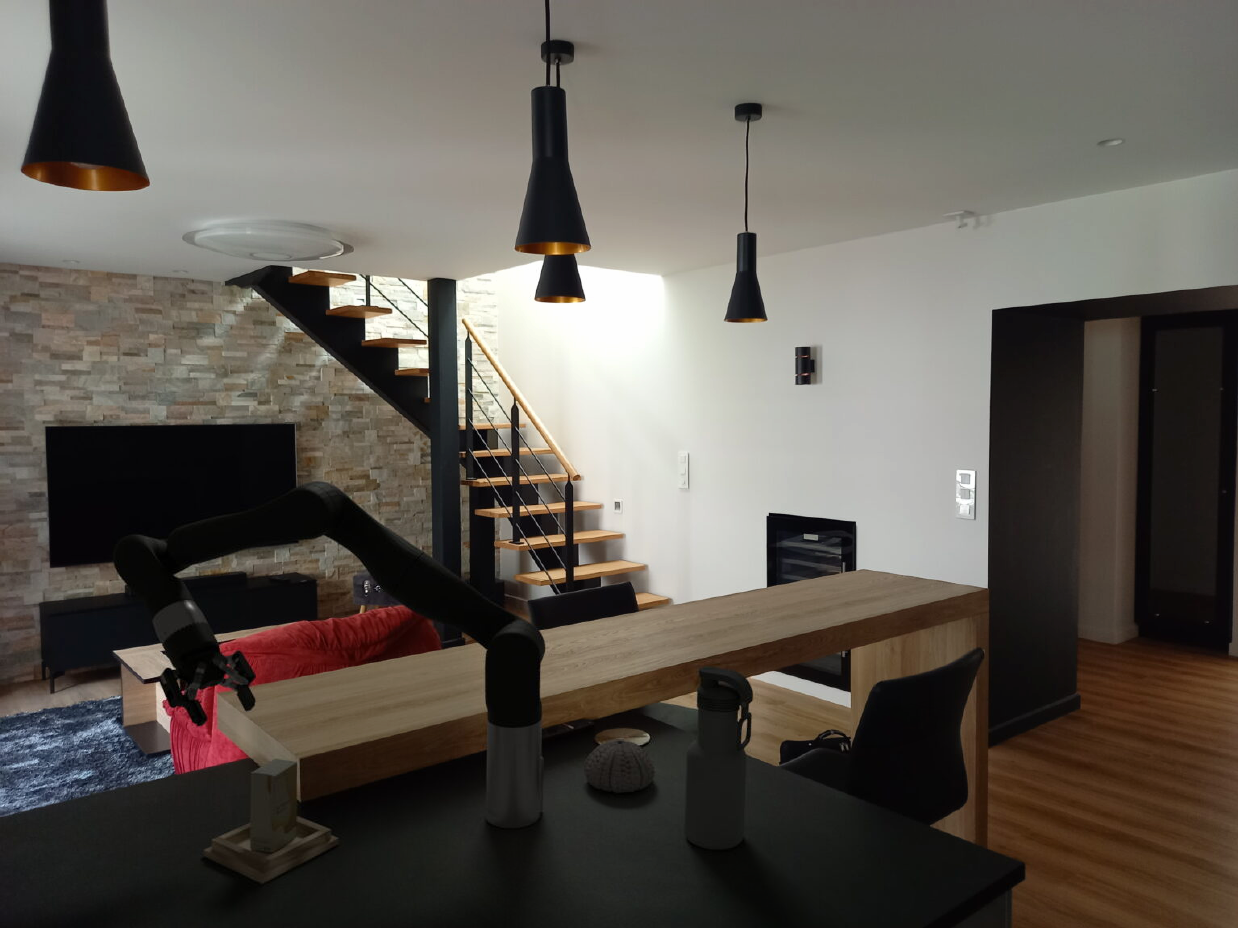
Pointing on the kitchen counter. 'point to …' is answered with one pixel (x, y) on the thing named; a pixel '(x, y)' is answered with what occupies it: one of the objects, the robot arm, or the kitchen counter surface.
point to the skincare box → (273, 805)
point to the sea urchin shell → (619, 767)
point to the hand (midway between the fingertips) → (227, 715)
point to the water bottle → (718, 761)
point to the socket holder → (268, 865)
